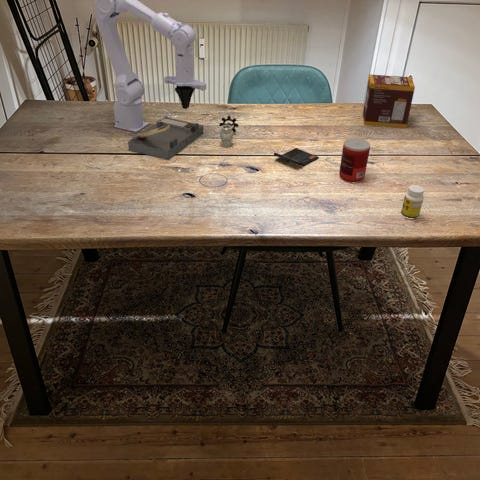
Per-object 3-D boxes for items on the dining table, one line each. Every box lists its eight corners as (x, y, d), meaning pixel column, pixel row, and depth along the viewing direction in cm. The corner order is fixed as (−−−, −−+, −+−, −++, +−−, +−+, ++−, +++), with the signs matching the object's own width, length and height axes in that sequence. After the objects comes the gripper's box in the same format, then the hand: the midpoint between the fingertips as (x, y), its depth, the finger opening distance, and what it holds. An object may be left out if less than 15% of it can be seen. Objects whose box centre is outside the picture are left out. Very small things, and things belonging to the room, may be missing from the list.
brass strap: (137, 138, 172) (135, 135, 171) (142, 135, 174) (140, 132, 174) (165, 130, 165) (163, 127, 165) (170, 127, 167) (168, 124, 167)
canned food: (366, 173, 163) (372, 140, 157) (362, 185, 157) (368, 151, 151) (341, 168, 165) (346, 136, 159) (336, 180, 159) (341, 146, 152)
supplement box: (361, 114, 202) (368, 73, 193) (403, 117, 201) (411, 76, 192) (363, 125, 194) (370, 83, 185) (406, 128, 192) (415, 86, 183)
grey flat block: (128, 150, 172) (127, 136, 169) (166, 125, 189) (165, 112, 186) (168, 160, 167) (167, 146, 164) (203, 133, 184) (203, 120, 181)
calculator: (318, 159, 171) (319, 150, 169) (296, 171, 164) (297, 162, 162) (295, 150, 176) (296, 141, 174) (273, 161, 169) (273, 152, 167)
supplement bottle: (398, 210, 146) (404, 183, 141) (414, 210, 146) (421, 183, 141) (404, 220, 142) (410, 193, 137) (421, 219, 142) (428, 192, 137)
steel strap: (160, 123, 182) (160, 120, 182) (164, 120, 184) (164, 117, 184) (190, 130, 178) (190, 127, 178) (195, 127, 180) (195, 124, 180)
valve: (235, 148, 175) (238, 133, 185) (236, 130, 171) (238, 115, 181) (215, 147, 175) (219, 132, 185) (216, 128, 172) (219, 114, 181)
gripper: (158, 66, 168) (160, 107, 176) (198, 73, 163) (199, 115, 171) (169, 60, 173) (171, 100, 181) (209, 67, 168) (209, 108, 176)
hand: (185, 107), depth 176 cm, fingers closed
